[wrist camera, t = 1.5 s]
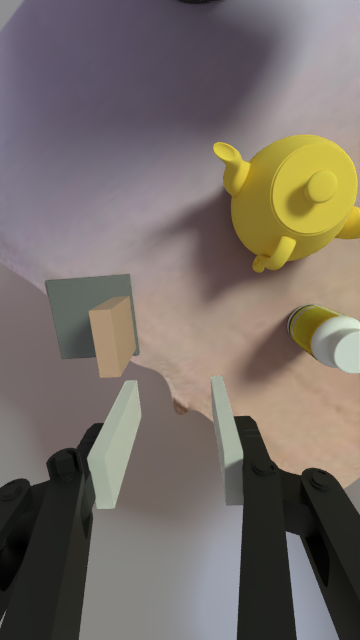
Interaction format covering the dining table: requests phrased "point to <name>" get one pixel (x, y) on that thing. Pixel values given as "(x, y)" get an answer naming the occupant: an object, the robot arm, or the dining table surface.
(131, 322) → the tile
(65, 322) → the mat
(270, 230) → the teapot
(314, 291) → the dining table surface
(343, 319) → the pill bottle
